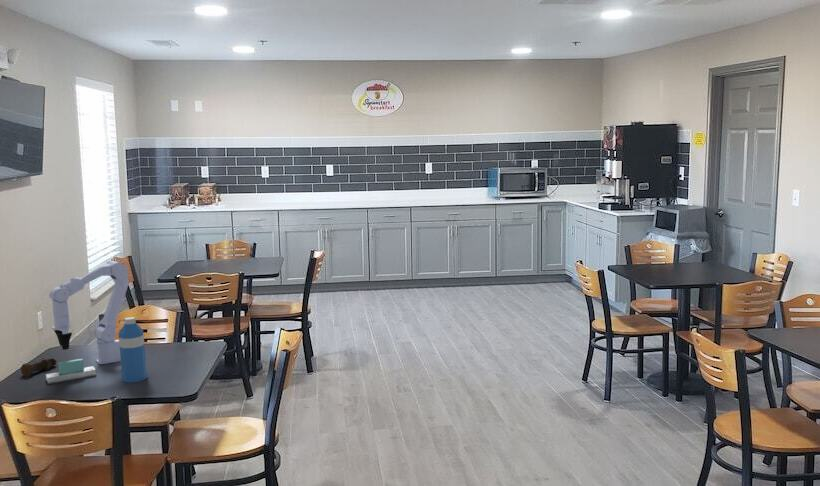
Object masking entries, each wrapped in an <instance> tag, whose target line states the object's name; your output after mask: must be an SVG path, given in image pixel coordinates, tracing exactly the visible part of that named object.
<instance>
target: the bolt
mask: <svg viewBox="0 0 820 486" xmlns="http://www.w3.org/2000/svg"><path fill="white" fill-rule="evenodd" d="M57 363H58V362H57V359H55V358H42V359H41V361H39V362H36V363H35V362H34V363H32V364H31V363H23V364H22V365H21V367H20V371H21V372H20V373H21V374H22V375H23V376H24V377H31V376H32V375H33V373H35V372H38V371H41V370H45V371H47V370H50V369H51V368H52V367H54V366H57Z"/></svg>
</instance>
